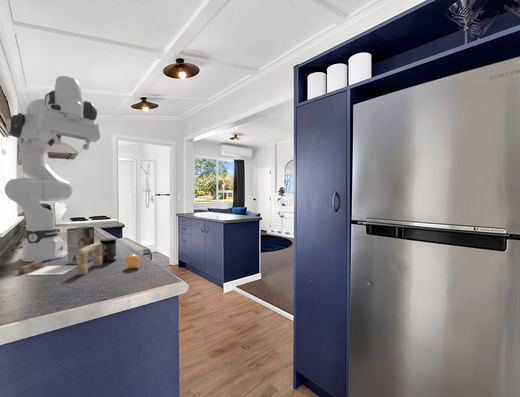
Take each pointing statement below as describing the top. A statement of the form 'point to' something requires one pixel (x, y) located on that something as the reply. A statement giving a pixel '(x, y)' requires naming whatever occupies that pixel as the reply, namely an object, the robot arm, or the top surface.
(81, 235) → the coffee box
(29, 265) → the stopper
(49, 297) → the top surface
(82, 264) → the bridge
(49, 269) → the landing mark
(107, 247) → the supplement container
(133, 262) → the ball
